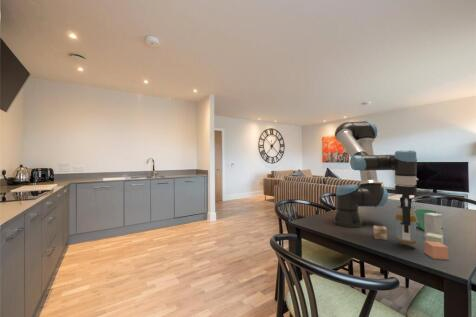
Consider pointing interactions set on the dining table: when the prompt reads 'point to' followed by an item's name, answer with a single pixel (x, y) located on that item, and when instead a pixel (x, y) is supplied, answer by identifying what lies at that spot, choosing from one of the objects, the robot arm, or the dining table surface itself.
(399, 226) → the bottle
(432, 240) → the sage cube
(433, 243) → the terracotta cube
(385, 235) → the maple cube
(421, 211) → the mug
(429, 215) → the skincare box
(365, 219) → the dining table surface
